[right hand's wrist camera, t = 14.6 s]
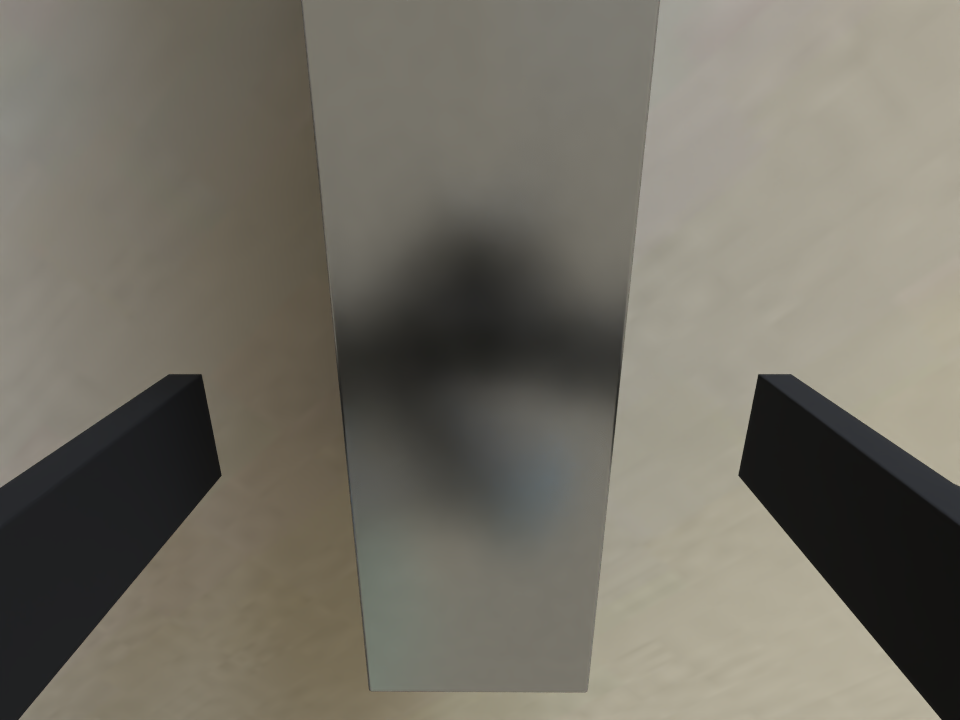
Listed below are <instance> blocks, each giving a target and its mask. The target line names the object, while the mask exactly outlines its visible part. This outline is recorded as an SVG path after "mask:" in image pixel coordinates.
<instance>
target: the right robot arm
mask: <svg viewBox="0 0 960 720" xmlns="http://www.w3.org/2000/svg"><path fill="white" fill-rule="evenodd" d="M221 476H222V475H221V470H220V465H219V460H218V455H217V450H216V445H215V440H214V435H213V430H212V425H211V420H210V415H209V409H208V404H207V399H206V394H205V389H204V384H203V379H202V374H169V375H167V376H166V377H164V378H163V379H161V380H160V381H158V382H157V383H155V384H154V385H152V386H151V387H149V388H148V389H146V390H145V391H144V392H142V393H141V394H139V395H138V396H136V397H135V398H133V399H132V400H130V401H129V402H127V403H126V404H124V405H123V406H121V407H120V408H118V409H117V410H115V411H114V412H112V413H111V414H109V415H108V416H106V417H105V418H103V419H102V420H100V421H99V422H97V423H96V424H95V425H93V426H92V427H90V428H89V429H87V430H86V431H84V432H83V433H81V434H80V435H78V436H77V437H75V438H74V439H72V440H71V441H69V442H68V443H66V444H65V445H63V446H62V447H60V448H59V449H57V450H56V451H54V452H53V453H51V454H50V455H48V456H47V457H46V458H44V459H43V460H41V461H40V462H38V463H37V464H35V465H34V466H32V467H31V468H29V469H28V470H26V471H25V472H23V473H22V474H20V475H19V476H17V477H16V478H14V479H13V480H11V481H10V482H8V483H7V484H5V485H4V486H2V487H1V488H0V720H18V719H19V718H20V717H21V716H22V715H23V713H24V712H25V711H26V710H27V709H28V707H29V706H30V705H31V704H32V703H33V701H34V700H35V699H36V698H37V697H38V695H39V694H40V693H41V692H42V691H43V689H44V688H45V687H46V686H47V685H48V683H49V682H50V681H51V680H52V679H53V677H54V676H55V675H56V674H57V673H58V671H59V670H60V669H61V668H62V667H63V665H64V664H65V663H66V662H67V661H68V659H69V658H70V657H71V656H72V655H73V653H74V652H75V651H76V650H77V649H78V647H79V646H80V645H81V644H82V643H83V641H84V640H85V639H86V638H87V637H88V635H89V634H90V633H91V632H92V631H93V629H94V628H95V627H96V626H97V625H98V623H99V622H100V621H101V620H102V619H103V617H104V616H105V615H106V614H107V613H108V611H109V610H110V609H111V608H112V607H113V605H114V604H115V603H116V602H117V600H118V599H119V598H120V597H121V596H122V594H123V593H124V592H125V591H126V590H127V588H128V587H129V586H130V585H131V584H132V582H133V581H134V580H135V579H136V578H137V576H138V575H139V574H140V573H141V572H142V570H143V569H144V568H145V567H146V566H147V564H148V563H149V562H150V561H151V560H152V558H153V557H154V556H155V555H156V554H157V552H158V551H159V550H160V549H161V548H162V546H163V545H164V544H165V543H166V542H167V540H168V539H169V538H170V537H171V536H172V534H173V533H174V532H175V531H176V530H177V528H178V527H179V526H180V525H181V524H182V522H183V521H184V520H185V519H186V518H187V516H188V515H189V514H190V513H191V512H192V510H193V509H194V508H195V507H196V506H197V504H198V503H199V502H200V501H201V500H202V498H203V497H204V496H205V495H206V494H207V492H208V491H209V490H210V489H211V488H212V486H213V485H214V484H215V483H216V482H217V480H218V479H219V478H220V477H221ZM738 476H739V477H740V478H741V479H742V480H743V482H744V483H745V484H746V485H747V486H748V488H749V489H750V490H751V491H752V492H753V494H754V495H755V496H756V497H757V498H758V500H759V501H760V502H761V503H762V504H763V506H764V507H765V508H766V509H767V510H768V512H769V513H770V514H771V515H772V516H773V518H774V519H775V520H776V521H777V522H778V524H779V525H780V526H781V527H782V528H783V530H784V531H785V532H786V533H787V534H788V536H789V537H790V538H791V539H792V540H793V542H794V543H795V544H796V545H797V546H798V548H799V549H800V550H801V551H802V552H803V554H804V555H805V556H806V557H807V558H808V560H809V561H810V562H811V563H812V564H813V566H814V567H815V568H816V569H817V570H818V572H819V573H820V574H821V575H822V576H823V578H824V579H825V580H826V581H827V582H828V584H829V585H830V586H831V587H832V588H833V590H834V591H835V592H836V593H837V594H838V596H839V597H840V598H841V599H842V601H843V602H844V603H845V604H846V605H847V607H848V608H849V609H850V610H851V611H852V613H853V614H854V615H855V616H856V617H857V619H858V620H859V621H860V622H861V623H862V625H863V626H864V627H865V628H866V629H867V631H868V632H869V633H870V634H871V635H872V637H873V638H874V639H875V640H876V641H877V643H878V644H879V645H880V646H881V647H882V649H883V650H884V651H885V652H886V653H887V655H888V656H889V657H890V658H891V659H892V661H893V662H894V663H895V664H896V665H897V667H898V668H899V669H900V670H901V671H902V673H903V674H904V675H905V676H906V677H907V679H908V680H909V681H910V682H911V683H912V685H913V686H914V687H915V688H916V689H917V691H918V692H919V693H920V694H921V695H922V697H923V698H924V699H925V700H926V701H927V703H928V704H929V705H930V706H931V707H932V709H933V710H934V711H935V712H936V713H937V715H938V716H939V717H940V718H941V719H942V720H960V486H957V485H955V484H953V483H952V482H950V481H949V480H947V479H946V478H944V477H943V476H941V475H940V474H938V473H937V472H935V471H934V470H932V469H931V468H929V467H928V466H926V465H925V464H923V463H922V462H920V461H919V460H917V459H916V458H914V457H913V456H912V455H910V454H909V453H907V452H906V451H904V450H903V449H901V448H900V447H898V446H897V445H895V444H894V443H892V442H891V441H889V440H888V439H886V438H885V437H883V436H882V435H880V434H879V433H877V432H876V431H874V430H873V429H871V428H870V427H868V426H867V425H865V424H864V423H862V422H861V421H860V420H858V419H857V418H855V417H854V416H852V415H851V414H849V413H848V412H846V411H845V410H843V409H842V408H840V407H839V406H837V405H836V404H834V403H833V402H831V401H830V400H828V399H827V398H825V397H824V396H822V395H821V394H819V393H818V392H816V391H815V390H813V389H812V388H811V387H809V386H808V385H806V384H805V383H803V382H802V381H800V380H799V379H797V378H796V377H794V376H793V375H791V374H758V379H757V384H756V389H755V394H754V399H753V404H752V409H751V415H750V420H749V425H748V430H747V435H746V440H745V445H744V450H743V455H742V460H741V465H740V470H739V475H738Z"/></svg>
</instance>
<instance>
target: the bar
mask: <svg viewBox="0 0 960 720" xmlns="http://www.w3.org/2000/svg"><path fill="white" fill-rule="evenodd" d="M301 3H302V14H303V24H304V34H305V44H306V54H307V64H308V75H309V85H310V95H311V105H312V115H313V126H314V136H315V146H316V156H317V166H318V176H319V187H320V197H321V207H322V217H323V227H324V237H325V248H326V258H327V268H328V278H329V288H330V299H331V309H332V319H333V329H334V339H335V349H336V360H337V370H338V380H339V390H340V400H341V410H342V421H343V431H344V441H345V451H346V461H347V472H348V482H349V492H350V502H351V512H352V522H353V533H354V543H355V553H356V563H357V573H358V584H359V594H360V604H361V614H362V624H363V634H364V645H365V655H366V665H367V675H368V685H369V690H370V691H391V692H587V690H588V683H589V673H590V664H591V654H592V645H593V635H594V626H595V616H596V606H597V597H598V587H599V578H600V568H601V559H602V549H603V540H604V530H605V520H606V511H607V501H608V492H609V482H610V473H611V463H612V454H613V444H614V434H615V425H616V415H617V406H618V396H619V387H620V377H621V368H622V358H623V348H624V339H625V329H626V320H627V310H628V301H629V291H630V282H631V272H632V262H633V253H634V243H635V234H636V224H637V215H638V205H639V196H640V186H641V177H642V167H643V157H644V148H645V138H646V129H647V119H648V110H649V100H650V91H651V81H652V71H653V62H654V52H655V43H656V33H657V24H658V14H659V5H660V0H301Z"/></svg>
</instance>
